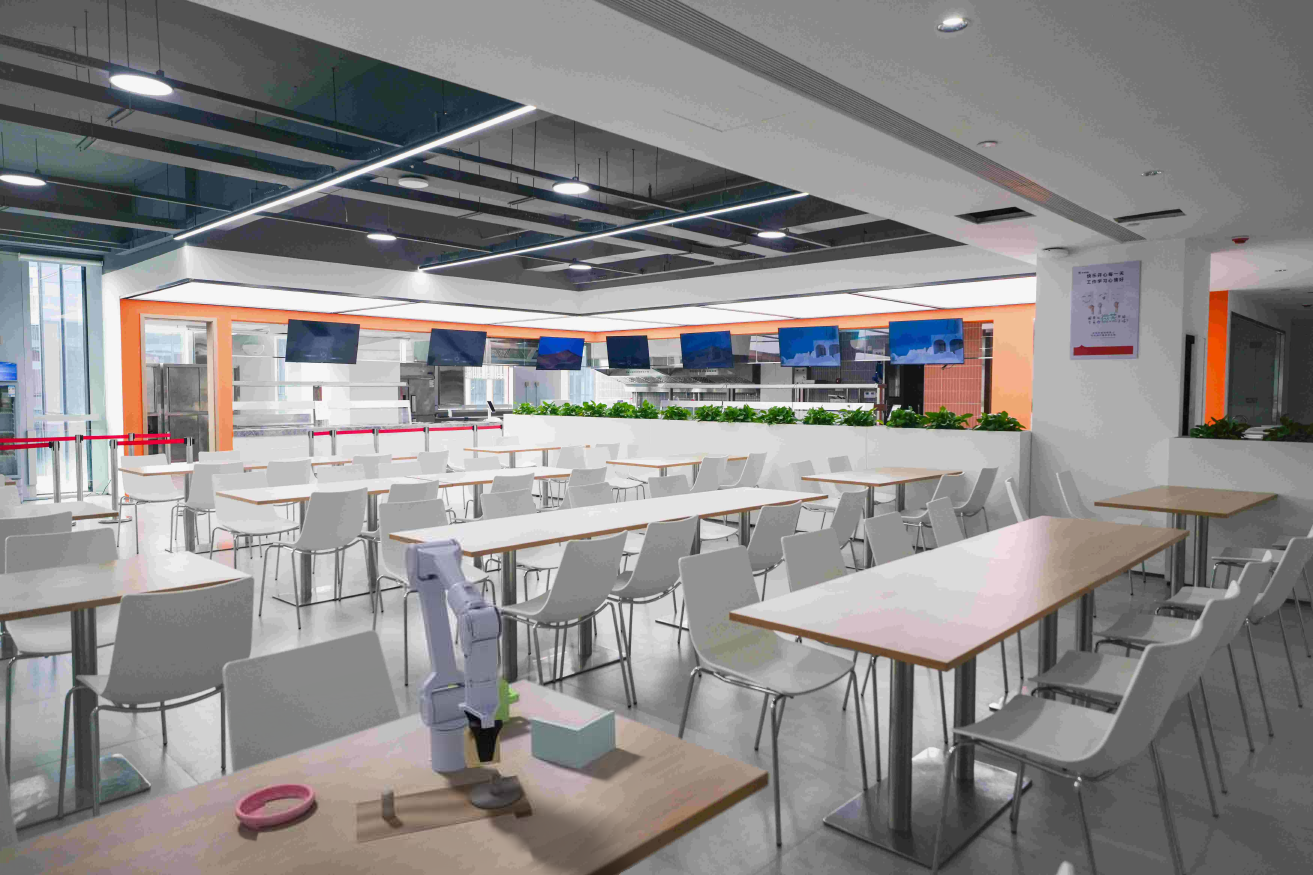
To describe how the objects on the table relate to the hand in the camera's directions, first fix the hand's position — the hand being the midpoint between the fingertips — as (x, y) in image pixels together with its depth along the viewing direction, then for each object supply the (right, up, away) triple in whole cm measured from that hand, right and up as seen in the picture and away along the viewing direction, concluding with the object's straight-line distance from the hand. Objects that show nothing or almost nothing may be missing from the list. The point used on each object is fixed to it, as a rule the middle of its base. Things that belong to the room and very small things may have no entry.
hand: (483, 753), depth 141 cm
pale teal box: (+14, -8, +22) cm, 27 cm away
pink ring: (-35, -10, -2) cm, 37 cm away
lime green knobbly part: (-9, -8, +37) cm, 39 cm away
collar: (0, -1, 0) cm, 1 cm away
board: (-6, -9, -2) cm, 11 cm away
